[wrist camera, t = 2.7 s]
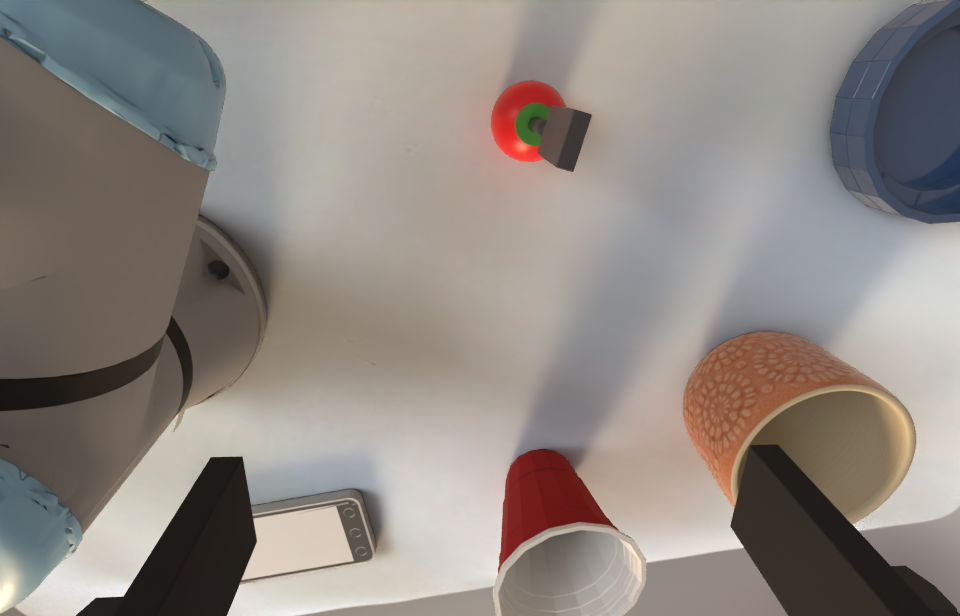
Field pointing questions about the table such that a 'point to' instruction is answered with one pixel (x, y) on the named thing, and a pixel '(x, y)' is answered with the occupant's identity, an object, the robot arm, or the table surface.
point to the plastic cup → (561, 546)
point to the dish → (904, 116)
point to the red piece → (538, 125)
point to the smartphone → (310, 535)
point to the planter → (799, 419)
